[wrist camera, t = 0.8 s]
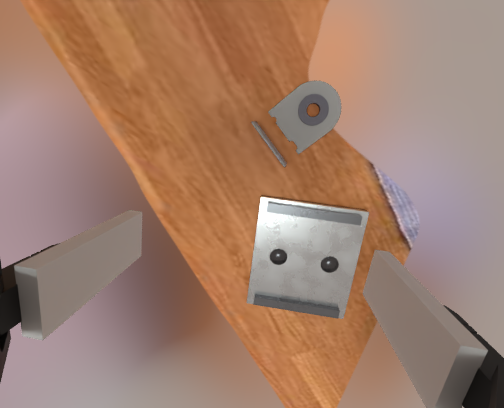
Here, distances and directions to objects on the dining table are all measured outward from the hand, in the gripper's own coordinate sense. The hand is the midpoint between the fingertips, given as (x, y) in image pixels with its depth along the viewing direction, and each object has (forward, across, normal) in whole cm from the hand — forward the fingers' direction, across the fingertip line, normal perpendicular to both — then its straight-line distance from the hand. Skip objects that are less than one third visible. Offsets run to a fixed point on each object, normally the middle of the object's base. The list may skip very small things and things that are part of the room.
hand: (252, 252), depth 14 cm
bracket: (+21, +2, +9) cm, 23 cm away
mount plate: (+20, +7, -9) cm, 23 cm away
